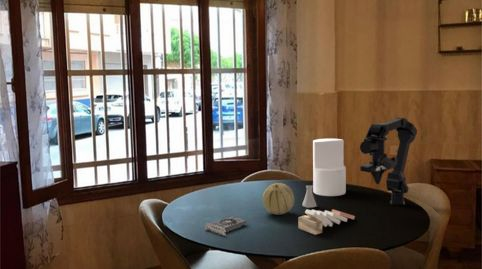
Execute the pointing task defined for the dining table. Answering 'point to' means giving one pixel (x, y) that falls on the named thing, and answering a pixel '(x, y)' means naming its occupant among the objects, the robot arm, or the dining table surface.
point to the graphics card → (225, 225)
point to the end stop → (310, 224)
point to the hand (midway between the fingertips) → (377, 184)
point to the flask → (309, 198)
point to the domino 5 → (343, 214)
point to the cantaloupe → (278, 198)
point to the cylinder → (329, 167)
